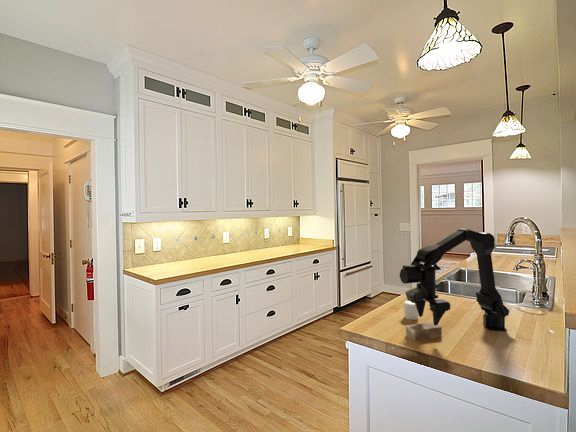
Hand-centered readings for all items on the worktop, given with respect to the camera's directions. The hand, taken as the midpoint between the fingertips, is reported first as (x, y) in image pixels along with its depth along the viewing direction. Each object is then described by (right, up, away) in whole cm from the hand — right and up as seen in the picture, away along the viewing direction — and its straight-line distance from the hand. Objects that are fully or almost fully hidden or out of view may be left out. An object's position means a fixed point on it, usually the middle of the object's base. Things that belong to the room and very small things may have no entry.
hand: (427, 320), depth 120 cm
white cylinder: (+1, -5, +19) cm, 20 cm away
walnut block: (+4, -4, +1) cm, 6 cm away
